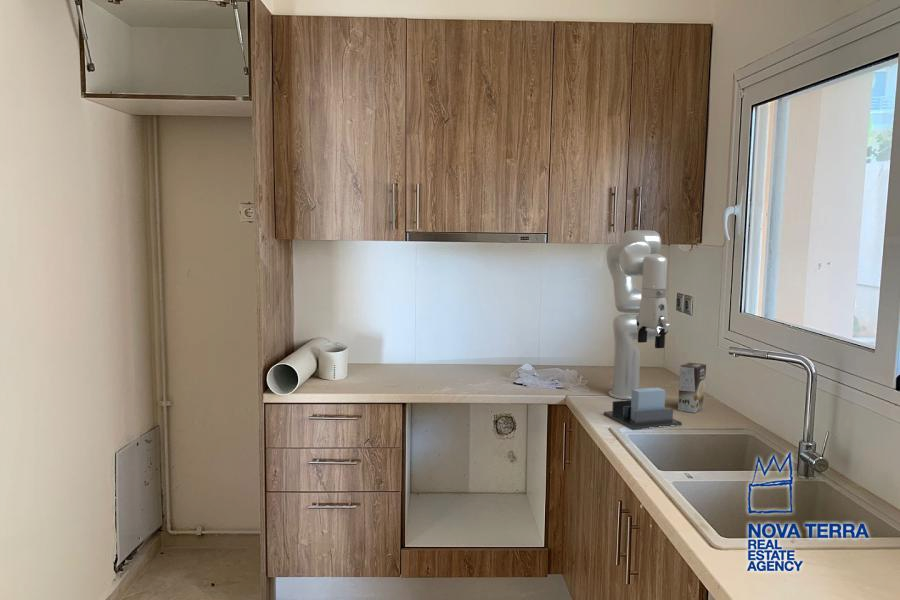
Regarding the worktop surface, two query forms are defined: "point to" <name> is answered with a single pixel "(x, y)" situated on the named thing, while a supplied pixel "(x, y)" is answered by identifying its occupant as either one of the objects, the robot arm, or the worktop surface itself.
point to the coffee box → (692, 387)
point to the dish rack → (640, 416)
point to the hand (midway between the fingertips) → (650, 345)
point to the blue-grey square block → (647, 400)
